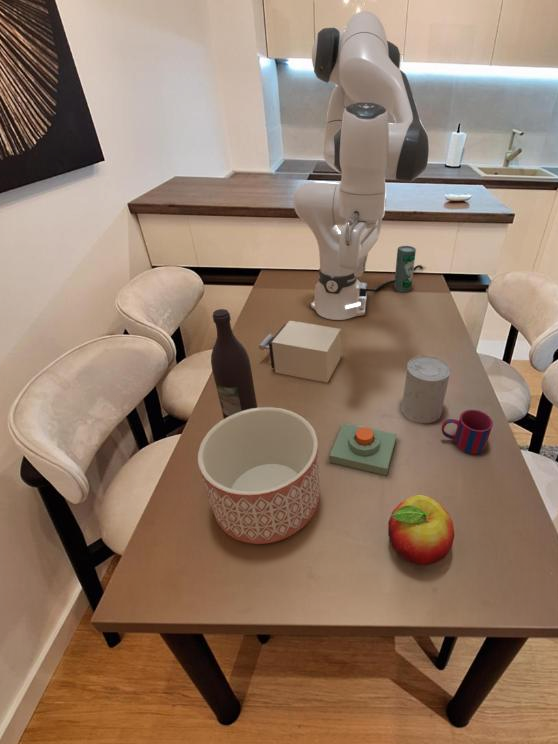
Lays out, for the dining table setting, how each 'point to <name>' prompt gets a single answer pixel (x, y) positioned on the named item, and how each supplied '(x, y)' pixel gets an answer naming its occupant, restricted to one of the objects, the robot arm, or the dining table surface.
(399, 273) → the can
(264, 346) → the drawer
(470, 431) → the mug
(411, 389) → the gray concrete cylinder
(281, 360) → the cream cardboard box
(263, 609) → the dining table surface
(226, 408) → the wine bottle
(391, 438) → the box
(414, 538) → the fruit
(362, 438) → the button
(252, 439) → the planter
